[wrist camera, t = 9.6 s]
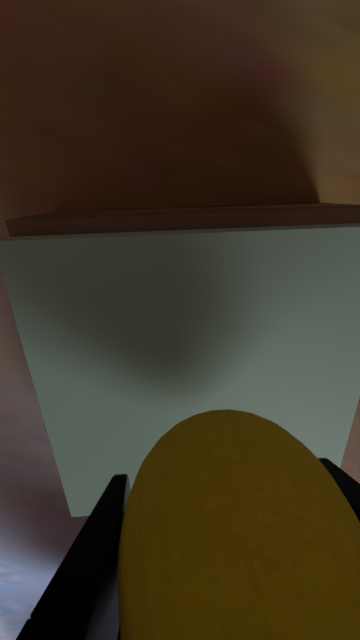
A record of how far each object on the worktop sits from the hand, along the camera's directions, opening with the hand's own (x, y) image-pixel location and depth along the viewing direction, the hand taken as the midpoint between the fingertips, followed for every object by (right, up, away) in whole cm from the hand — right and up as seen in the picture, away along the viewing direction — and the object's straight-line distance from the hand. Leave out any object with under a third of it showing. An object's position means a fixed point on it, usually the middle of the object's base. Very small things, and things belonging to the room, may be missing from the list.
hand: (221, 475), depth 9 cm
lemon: (0, +1, +2) cm, 2 cm away
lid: (0, +2, +4) cm, 4 cm away
